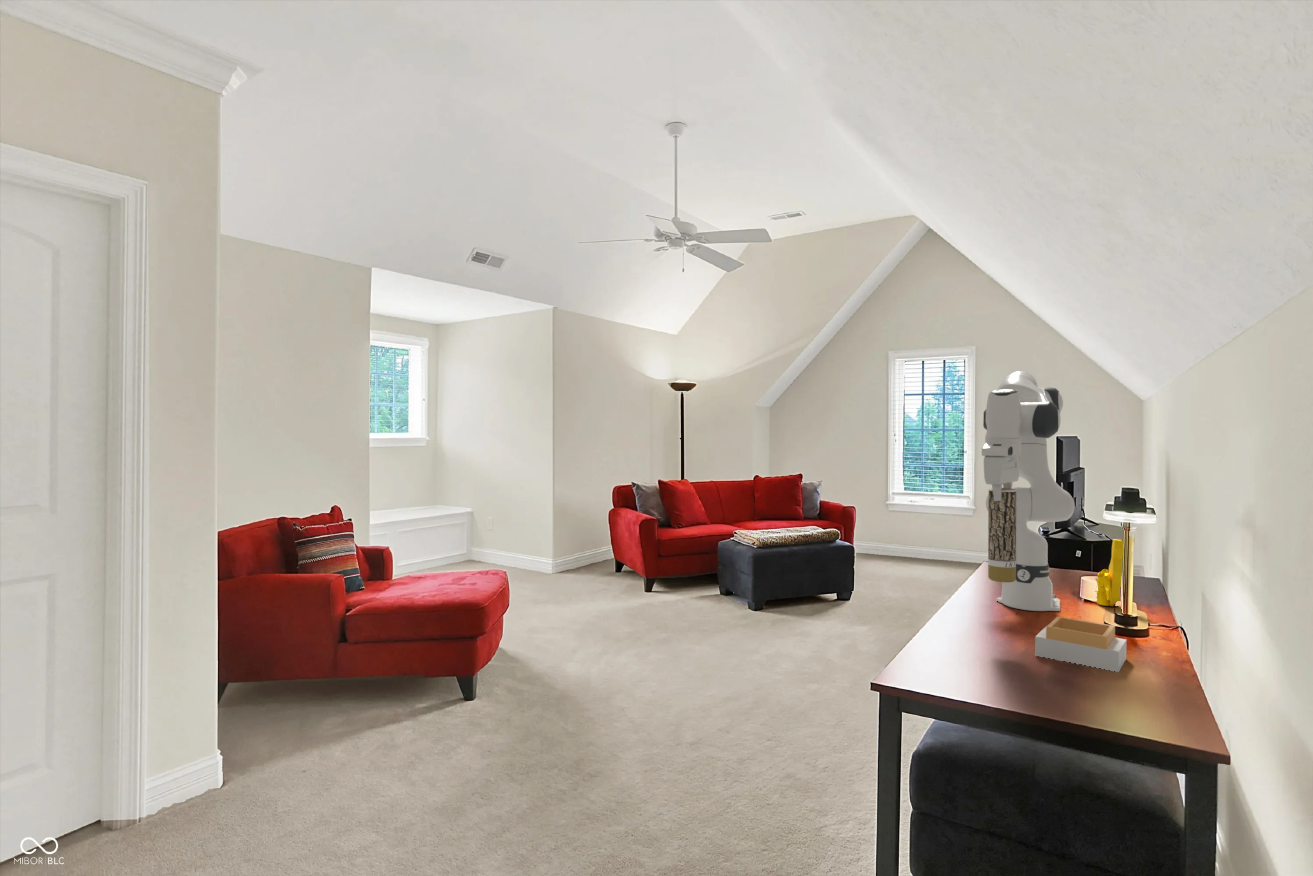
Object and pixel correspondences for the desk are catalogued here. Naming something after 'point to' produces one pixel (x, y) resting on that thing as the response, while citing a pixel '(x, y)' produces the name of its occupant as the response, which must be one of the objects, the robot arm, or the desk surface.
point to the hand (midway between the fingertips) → (1002, 499)
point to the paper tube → (1002, 536)
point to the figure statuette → (1111, 577)
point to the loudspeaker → (1081, 643)
